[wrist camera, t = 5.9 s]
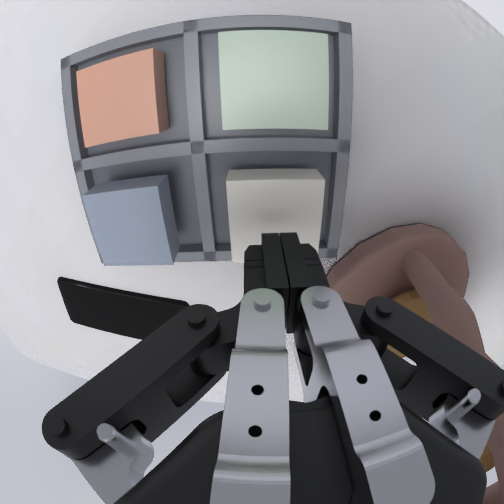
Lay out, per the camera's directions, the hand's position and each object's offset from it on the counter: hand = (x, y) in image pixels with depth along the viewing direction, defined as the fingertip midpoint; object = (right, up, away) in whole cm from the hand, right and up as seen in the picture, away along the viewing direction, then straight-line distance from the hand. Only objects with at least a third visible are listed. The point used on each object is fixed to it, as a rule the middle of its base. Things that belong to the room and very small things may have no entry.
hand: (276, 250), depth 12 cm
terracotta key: (-9, +9, +1) cm, 13 cm away
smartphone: (-15, -6, +14) cm, 21 cm away
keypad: (-4, +7, +5) cm, 10 cm away
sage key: (0, +9, 0) cm, 9 cm away
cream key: (0, +3, +4) cm, 5 cm away
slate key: (-8, +2, +4) cm, 10 cm away
